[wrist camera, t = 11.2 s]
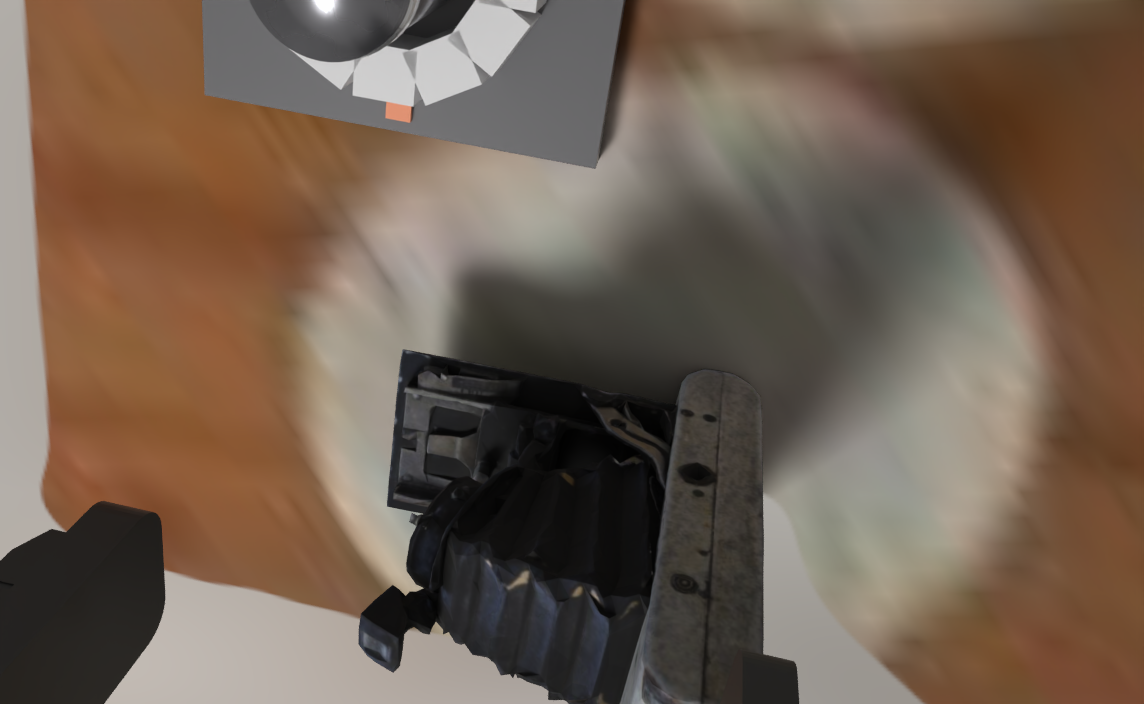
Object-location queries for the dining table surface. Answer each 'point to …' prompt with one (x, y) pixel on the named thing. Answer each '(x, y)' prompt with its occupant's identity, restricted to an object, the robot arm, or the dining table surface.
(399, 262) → the dining table surface
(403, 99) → the mount
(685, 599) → the vintage camera
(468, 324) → the dining table surface
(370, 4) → the lens
